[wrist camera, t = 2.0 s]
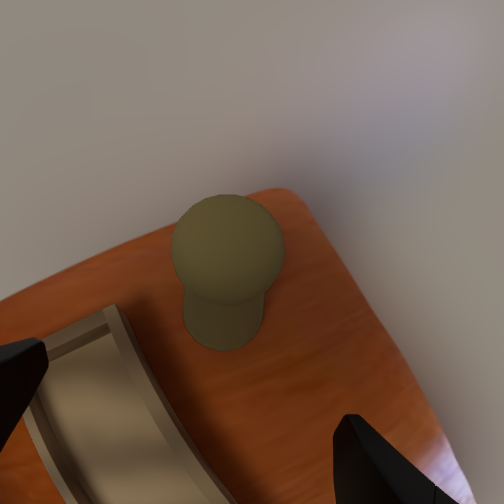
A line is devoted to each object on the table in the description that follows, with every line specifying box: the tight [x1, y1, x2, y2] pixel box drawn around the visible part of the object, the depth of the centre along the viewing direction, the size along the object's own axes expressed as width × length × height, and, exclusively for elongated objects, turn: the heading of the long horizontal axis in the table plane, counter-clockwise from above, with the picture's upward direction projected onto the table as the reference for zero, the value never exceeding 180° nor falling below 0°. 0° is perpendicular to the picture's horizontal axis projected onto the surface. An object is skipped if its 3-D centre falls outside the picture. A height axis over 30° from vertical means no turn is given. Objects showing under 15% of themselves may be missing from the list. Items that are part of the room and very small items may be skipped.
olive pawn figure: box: [171, 195, 285, 351], centre depth 17 cm, size 6×6×11 cm
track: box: [22, 303, 238, 504], centre depth 13 cm, size 20×10×3 cm, turn 32°
